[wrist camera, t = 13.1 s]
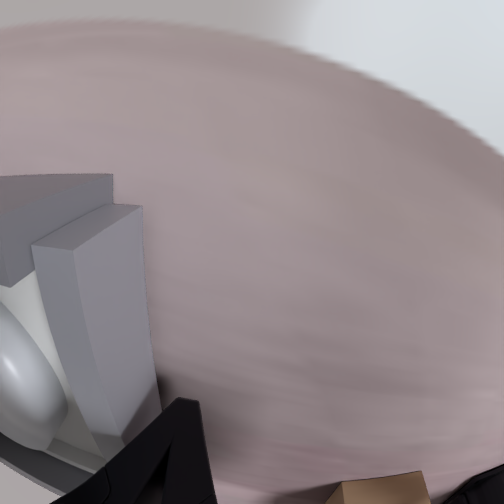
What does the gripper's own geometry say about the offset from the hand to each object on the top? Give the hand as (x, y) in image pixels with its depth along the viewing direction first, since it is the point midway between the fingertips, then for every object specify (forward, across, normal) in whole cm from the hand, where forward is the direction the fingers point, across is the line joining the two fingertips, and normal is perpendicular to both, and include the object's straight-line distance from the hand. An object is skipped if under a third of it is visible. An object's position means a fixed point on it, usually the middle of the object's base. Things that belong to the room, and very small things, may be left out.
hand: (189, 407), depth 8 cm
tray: (+1, +7, 0) cm, 7 cm away
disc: (-1, +8, 0) cm, 8 cm away
